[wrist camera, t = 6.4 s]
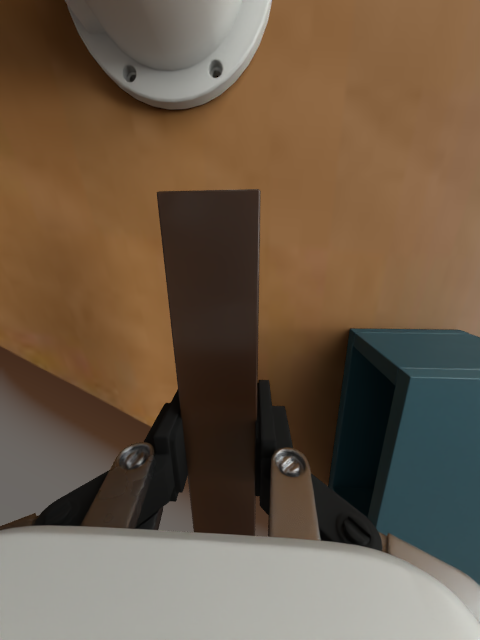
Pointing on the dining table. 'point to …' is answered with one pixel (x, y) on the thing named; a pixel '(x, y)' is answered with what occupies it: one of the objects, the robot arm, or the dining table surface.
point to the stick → (215, 346)
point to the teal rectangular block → (413, 439)
